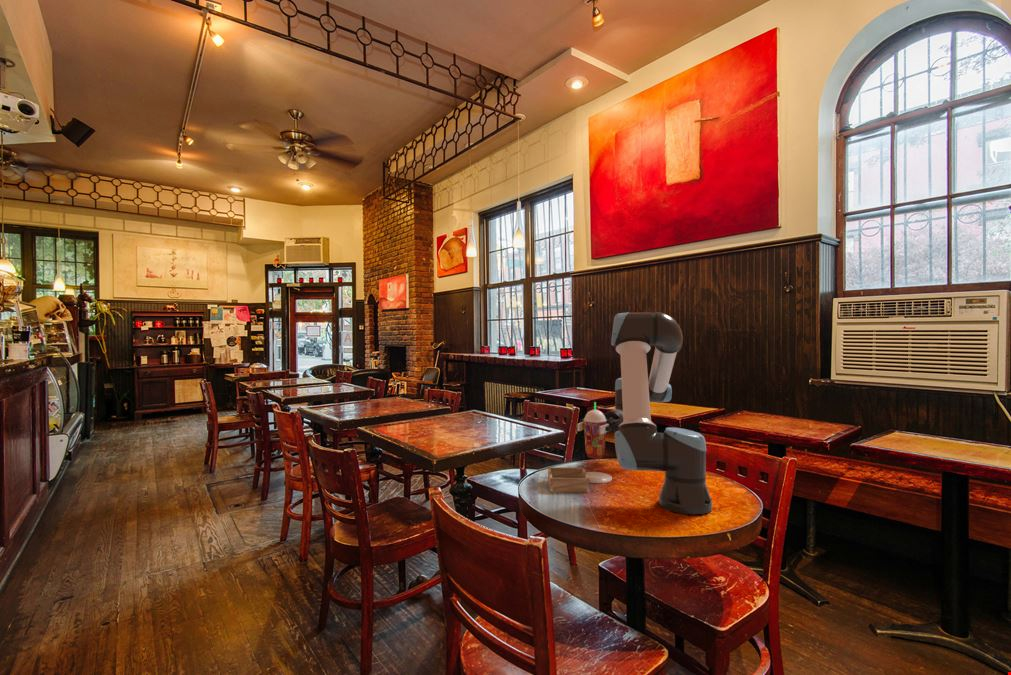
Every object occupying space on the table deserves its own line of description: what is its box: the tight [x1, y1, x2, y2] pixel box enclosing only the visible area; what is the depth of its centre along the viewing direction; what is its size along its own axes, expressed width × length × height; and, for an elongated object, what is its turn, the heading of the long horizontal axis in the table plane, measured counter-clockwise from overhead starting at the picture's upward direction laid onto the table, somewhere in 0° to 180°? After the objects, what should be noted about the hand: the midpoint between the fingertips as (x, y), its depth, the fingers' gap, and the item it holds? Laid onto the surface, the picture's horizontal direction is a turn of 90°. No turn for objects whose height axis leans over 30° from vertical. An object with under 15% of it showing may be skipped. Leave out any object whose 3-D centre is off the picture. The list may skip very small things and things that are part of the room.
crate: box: [547, 466, 590, 493], centre depth 161 cm, size 13×13×4 cm
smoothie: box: [582, 401, 607, 460], centre depth 170 cm, size 8×8×20 cm
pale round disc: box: [586, 471, 613, 484], centre depth 170 cm, size 12×12×1 cm
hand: (589, 428), depth 166 cm, fingers closed on smoothie, 8 cm apart
